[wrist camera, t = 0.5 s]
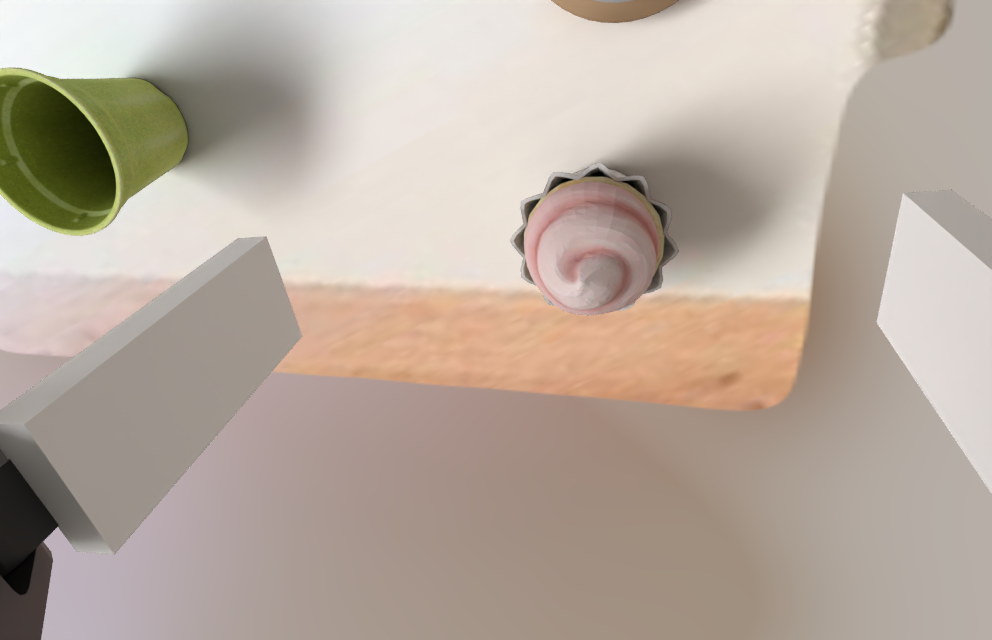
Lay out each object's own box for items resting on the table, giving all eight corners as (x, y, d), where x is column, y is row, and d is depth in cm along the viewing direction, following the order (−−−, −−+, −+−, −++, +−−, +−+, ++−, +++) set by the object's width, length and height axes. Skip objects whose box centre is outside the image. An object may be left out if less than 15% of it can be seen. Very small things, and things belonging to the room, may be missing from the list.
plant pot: (59, 62, 40) (-71, 83, 32) (175, 37, 37) (64, 54, 30) (125, 196, 44) (24, 242, 37) (233, 182, 42) (148, 228, 34)
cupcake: (633, 111, 34) (633, 158, 26) (695, 245, 38) (713, 327, 29) (496, 183, 38) (458, 246, 30) (564, 300, 41) (547, 385, 33)
